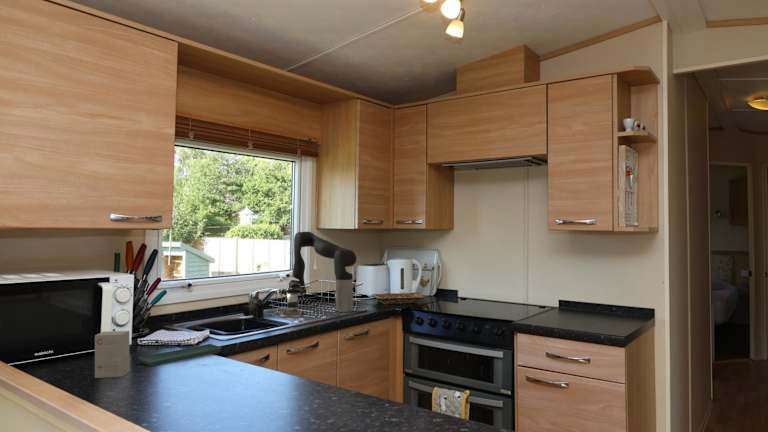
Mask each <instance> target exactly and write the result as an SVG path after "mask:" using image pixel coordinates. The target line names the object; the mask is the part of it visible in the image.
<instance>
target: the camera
mask: <svg viewBox="0 0 768 432" xmlns="http://www.w3.org/2000/svg"><path fill="white" fill-rule="evenodd" d="M249 302H250V303H249V305H248V304H245V305H243V307H242V314H243V316H244V317H251V316H252V317H253V319H256V320H259V321H260V320H264V314H265V313H264V311H265V310H264V306H265V302H264V301H263V300H262V299H260V296H257V295H256V296H253V297H251V299H250V301H249Z"/></svg>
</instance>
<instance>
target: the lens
mask: <svg viewBox="0 0 768 432" xmlns="http://www.w3.org/2000/svg"><path fill="white" fill-rule="evenodd" d="M286 298H287V299H286V300H287V301H286V310H299V308H298V307H299V306H298V305H299V304H298V303H299V301H298V296H297V293H288V294H287V295H286Z"/></svg>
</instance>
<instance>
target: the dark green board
mask: <svg viewBox="0 0 768 432" xmlns="http://www.w3.org/2000/svg"><path fill="white" fill-rule="evenodd" d="M221 350H222V346H219V345H215V344H212V343H207V344H202V345H196V346H192V347H187V348H186V347H185V348H181V349H176V350H170V351H165V352H160V353H155V354H149V355H144V356H139V357H138V359H139V361H140V362H141V363H142V364H144V365H146V366H148V367H154V366H158V365H164V364H169V363H175V362H179V361H185V360H189V359H195V358H201V357H204V356H205V357H206V356H210V355H211V356H212V355H216V354H219V353H220V352H221Z"/></svg>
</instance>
